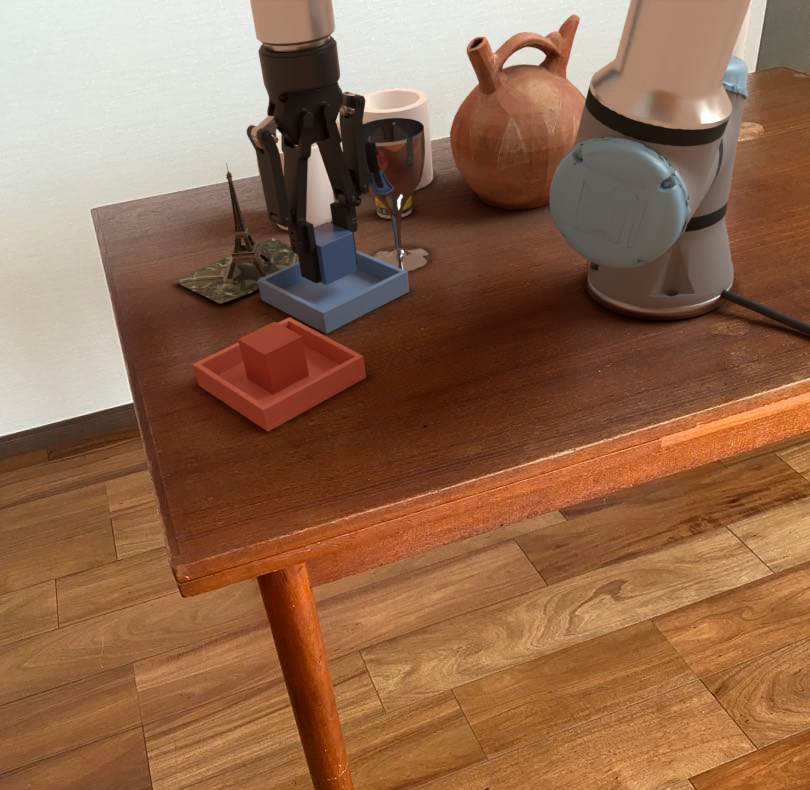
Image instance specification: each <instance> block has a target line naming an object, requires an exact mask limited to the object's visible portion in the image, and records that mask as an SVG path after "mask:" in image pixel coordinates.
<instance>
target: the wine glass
mask: <svg viewBox="0 0 810 790" xmlns="http://www.w3.org/2000/svg"><path fill="white" fill-rule="evenodd" d="M363 130H364V140H365V151H366V161H367V171H368V182H369V191H368V192H369V193H370V194H371V195H373V196H374V198H375V197H376V198H377V199H378V200H379V201H380V202H381V203H382V204H383V205H384V206H385V207H386V209H387V210H388V212H389V214H390V217H391V219H390V221H391V224H392V230H393V236H394V246H392V247H388V248H384V249H382V250H379V251H378V252H376V253H375V254H374V255H372V257H374V258H376V259H379V260H381V261H384V262H386V263H388V264H391V265H393V266H395V267H398V268H400V269H403V270H405V271H407V272H412V271H415V270H418V269H420V268H422V267H423V266H425V265H427V263H428V262H429V260H430V254H429V253H428V252H427V251H426V250H424V249H423V248H421V247H418V246H413V245H403V243H402V218H401V214H402V210H403V207H404V205H405V203H406V202H407V200H408V199H409V197H410V196H411V197H412V194H413V193H414V192H415V191H416V190H415V189H416V188H417V186H418V184H419V183H420V181H421V178H422V174H423V168H424V160H425V136H424V126H423V124H422V123H421V122H419V121H416V120H413V119H407V118H387V119H380V120H375V121H371V122H368V123H365V124H363ZM414 190H415V191H414Z"/></svg>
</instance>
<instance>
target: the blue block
mask: <svg viewBox="0 0 810 790" xmlns="http://www.w3.org/2000/svg"><path fill="white" fill-rule="evenodd" d="M314 233H315V240H316V248H317V255H318V261H319V268H320V274H321V283H323V284H325V285H328V284H330V283H332V282H335V281H337V280H339V279H341V278H343V277H345V276H347V275H349V274H351V273H354V272H356V271H357V264H356V256H355V248H354V239H355V238H354V239H353V232H350V231H348V230H346V229H343V228H341V227H338V226H336V225H334V224H333V223H332V222H330V223H329V222H326V223H324V224H321V225H319V226H317V227H314Z"/></svg>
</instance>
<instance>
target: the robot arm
mask: <svg viewBox="0 0 810 790" xmlns="http://www.w3.org/2000/svg"><path fill="white" fill-rule="evenodd" d="M249 2H250V3H249V4H250V8H251V15H252V20H253V26H254V31H255V39H256V40H257V41H259V42H260V43H261V44H260V46H259V49H258V51H257V52H258V58H259V63H260V70H261V75H262V81H263V85H264V87H265V90H266V93H267V95H268V105H267V109H266V110H267V111H266V114H267V117H265V118H264V119H263V120H262V121H261V122H260V123H259V124H258V125H254V124H250V125H248V127H247V128H246V135H247V137H248V139H249V142H250V143H251V146H252V147H253V148H254V151H255V156H256V162H257V161H258V165H257V167H258V166H259V171H260V176H261V179H260V182H261V181H262V182H261V186H262V191H263V195H264V201H265V206H266V210H267V215H268V219H269V221H270V222H273V223H275V224H276V223H277V224H279V225H281V226H284V227H288V231H287V233H288V238H289V243H290V247H291V249H292V251H293V252H294V253H296V254H298V257H299V263H300V269H301V275H302V277H304V278H306V279H308V280H310V281H312V282H314V283H316V284H317V283H319V282H321V274H320V268H319V261H318V255H317V248H316V240H315V233H314V227H313V224H312V223H309V222H307V221H306V208H307V172H308V158H309V157H310V156H311V145H312V144H314V143H316V144H317V145H318V148H319V151H320V154H321V157H322V160H323V163H324V166H325V169H326V172H327V175H328V178H329V181H330V184H331V187H332V190H333V195H334V199H335V200H337V201H334V203H331V204H330V209H331V216H332V221H331V224H334V225H336V226H338V227H341V228H343V229H346V230H348V231H350V232H353V239H354V248H355V256H356V264H357V255H356V250H357V248H356V241H355V233H357V231H358V218H357V211H356V208H359V207H360V206H361V204H362V202H363V200H362V198H361V197H360V196H362V195H366V194H367V193H368V192H369V191H368V190H369V182H368V171H367V161H366V151H365V140H364V130H363V114H364V108H365V98H364V96H362V95H361V94H357V93H353V92H350V91H344V92H343V90H342V88H341V86H340V84H339V80H340V78H341V67H340V59H339V52H338V43H337V40H336V39H335V38H334V37H333V36H332V34H334V32H335V30H336V23H335V14H334V7H333V0H249ZM750 2H751V0H630V2H629V6H628V10H627V14H626V17H625V21H624V25H623V28H622V33H621V37H620V40H619V44H618V48H617V51H616V56H615V58H614V59H613V60H612V61H610V62H609V63H608V64H606V65H604V66H603V67H601V68H600V69H598V70H597V71H595V73H593V75H592V76H591V79H590V82H589V86H588V89H587V94H586V97H585V98H586V101H585V105H584V109H583V112H582V116H581V120H580V124H579V128H578V132H577V136H576V140H575V143H574V146H573V148H571V149H570V150H568V152H567V153H566V154H565V155H564V157H563V158H562V160H560V163H559V166H558V167H557V169H556V172H555V174H554V176H553V179H552V183H551V187H550V196H549V199H550V204H549V208H550V213H551V217H552V220H553V223H554V226H555V228H556V230H557V231H559V232H560V234H561V236H562V237H563V238H564V241H565V243H566V244H567V245H568V247H569V248H571V249H572V250H573V251H574V252H575V253H576V254H578V255H579V256H581V257H582V258H584V260H585V259H586V261H587V262H586V263H587V264H586V269H588V270H587V282H586V288H587V292H588V294H589V296H590V297H591V298H592V300H594V302H596V303H597V304H598V305H600V307H601V306H602V307H603V308H605V309H607V310H609V311H611V312H613V313H616V314H618V315H621V316H625V317H629V318H635V319H640V320H651V321H673V320H675V321H676V320H682V319H683V320H684V319H688V318H689V319H690V318H694V317H697V316H701V315H704V314H707V313H709V312H712V311H714V310H716V309H717V308H719V307H721V306H722V305H724V303H726V302H727V301H729V302H731V303H734V304H736V305H738V306H740V307H743V308H745V309H748V310H750V311H752V312H755V313H757V314H759V315H761V316H764V317H766V318H768V319H771V320H773V321H775V322H778V323H780V324H782V325H784V326H787V327H788V328H789V327H790V328H792V329H794V330H796V331H799V332H802V333H804V334H807V335H809V336H810V324H809V323H806V322H804V321H802V320H799V319H797V318H795V317H791V316H790V315H786V314H785V313H782V312H780V311H777V310H775V309H773V308H771V307H769V306H766V305H764V304H762V303H760V302H757V301H754V300H752V299H750V298H747V297H745V296H742V295H739V294H737V293H734V292H732V290H733V283H734V277H735V276H734V273H735V272H734V263H733V261H732V253H731V246H730V241H729V240H730V239H729V234H728V228H727V222H726V216H727V210H728V202H729V199H730V197H729V196H730V191H731V186H732V179H733V173H734V167H735V162H736V155H737V148H738V142H739V136H740V131H741V125H742V117H743V113H744V107H745V101H746V99H748V96H749V92H748V79H749V68H748V65H747V64H746V62H745V61H744V60H742V59H740V58H739V57H736V56H734V55H732V52H733V50H734V47H735V44H736V41H737V38H738V36H739V33H740V30H741V27H742V24H743V21H744V19H745V16H746V13H747V10H748V7H749V4H750ZM338 116H339V119H338ZM337 120H339V121H340V131H341V136H340V133H339V130H338V127H337ZM277 131H278V133H281V149H282V152H283V153H284V175H283V169H282V164H281V158H280V153H279V150H278V147H277V145H276V143H278V137H277V136H276V134H277ZM296 145H297V146H296ZM259 171H258V172H259ZM260 176H259V177H260ZM277 224H276V225H277Z"/></svg>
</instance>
